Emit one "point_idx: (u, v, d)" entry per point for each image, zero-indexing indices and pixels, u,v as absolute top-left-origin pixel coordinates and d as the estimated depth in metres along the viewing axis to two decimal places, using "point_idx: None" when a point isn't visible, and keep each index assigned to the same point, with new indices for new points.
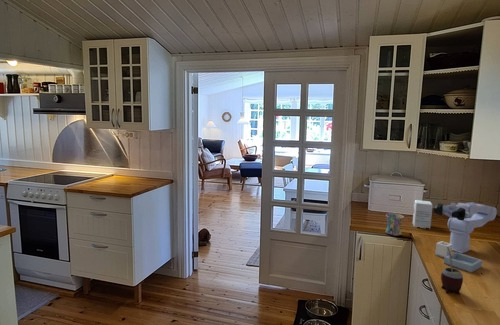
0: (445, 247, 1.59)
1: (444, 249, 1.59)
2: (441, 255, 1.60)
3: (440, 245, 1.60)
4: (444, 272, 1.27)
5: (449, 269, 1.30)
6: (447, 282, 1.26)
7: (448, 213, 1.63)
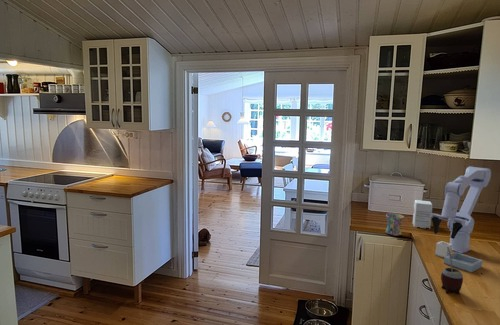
0: (445, 247, 1.59)
1: (444, 249, 1.59)
2: (441, 255, 1.60)
3: (440, 245, 1.60)
4: (444, 272, 1.27)
5: (449, 269, 1.30)
6: (447, 282, 1.26)
7: None
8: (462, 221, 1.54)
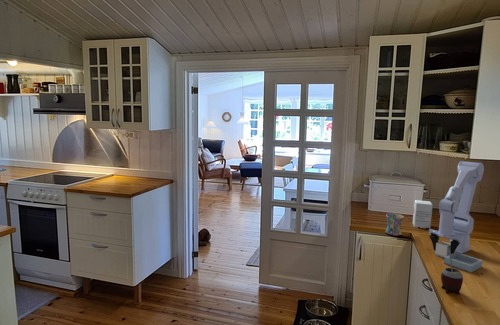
0: (445, 247, 1.59)
1: (444, 249, 1.59)
2: (441, 255, 1.60)
3: (440, 245, 1.60)
4: (444, 272, 1.27)
5: (449, 269, 1.30)
6: (447, 282, 1.26)
7: None
8: (459, 239, 1.55)
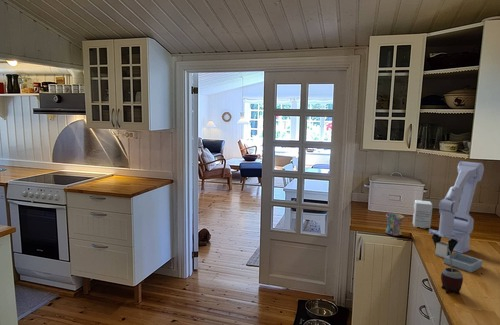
0: (445, 247, 1.59)
1: (444, 249, 1.59)
2: (441, 255, 1.60)
3: (440, 245, 1.60)
4: (444, 272, 1.27)
5: (449, 269, 1.30)
6: (447, 282, 1.26)
7: None
8: (459, 239, 1.55)
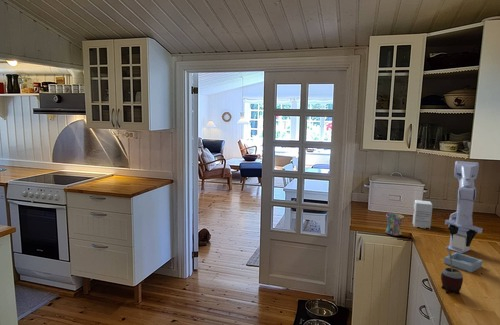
0: (463, 239, 1.49)
1: (462, 241, 1.50)
2: (458, 247, 1.51)
3: (457, 237, 1.51)
4: (444, 272, 1.27)
5: (449, 269, 1.30)
6: (447, 282, 1.26)
7: None
8: (479, 230, 1.46)
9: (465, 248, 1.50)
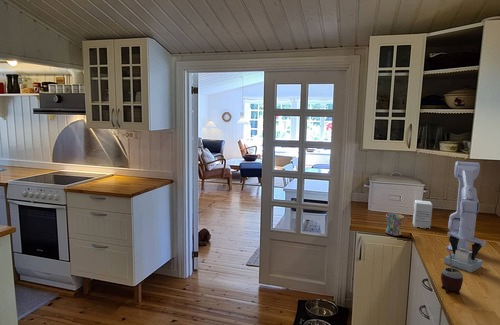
0: (465, 255, 1.48)
1: (464, 257, 1.49)
2: None
3: (460, 253, 1.50)
4: (444, 272, 1.27)
5: (449, 269, 1.30)
6: (447, 282, 1.26)
7: None
8: (482, 242, 1.45)
9: None
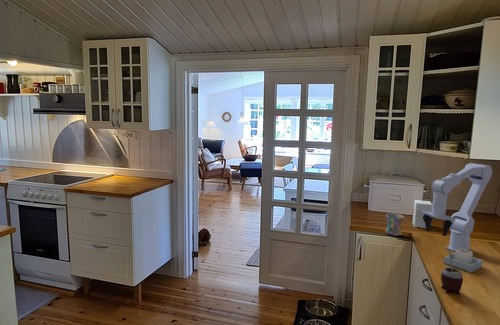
0: (465, 255, 1.48)
1: (464, 257, 1.49)
2: None
3: (460, 253, 1.50)
4: (444, 272, 1.27)
5: (449, 269, 1.30)
6: (447, 282, 1.26)
7: None
8: (452, 219, 1.57)
9: None
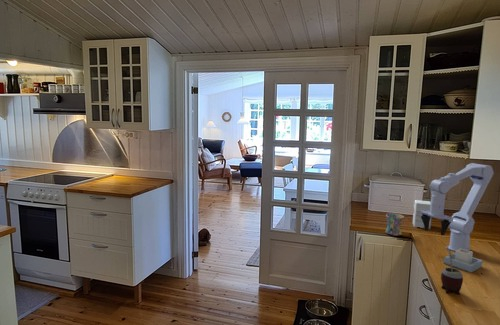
0: (465, 255, 1.48)
1: (464, 257, 1.49)
2: None
3: (460, 253, 1.50)
4: (444, 272, 1.27)
5: (449, 269, 1.30)
6: (447, 282, 1.26)
7: None
8: (450, 219, 1.58)
9: None
